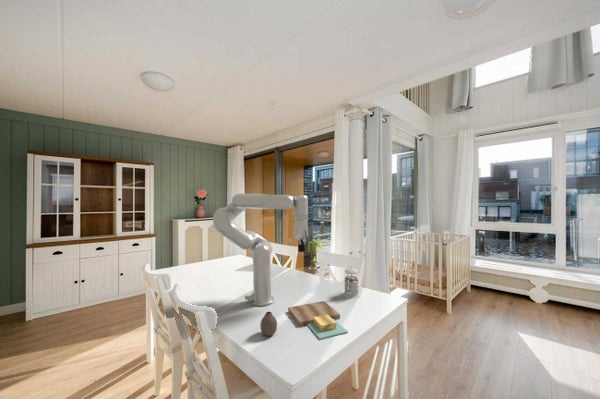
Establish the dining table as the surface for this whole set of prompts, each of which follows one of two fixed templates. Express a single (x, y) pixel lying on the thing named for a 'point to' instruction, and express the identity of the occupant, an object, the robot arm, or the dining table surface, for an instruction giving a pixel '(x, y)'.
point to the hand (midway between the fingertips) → (301, 251)
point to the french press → (351, 283)
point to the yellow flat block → (324, 323)
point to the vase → (268, 324)
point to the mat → (329, 333)
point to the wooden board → (311, 312)
